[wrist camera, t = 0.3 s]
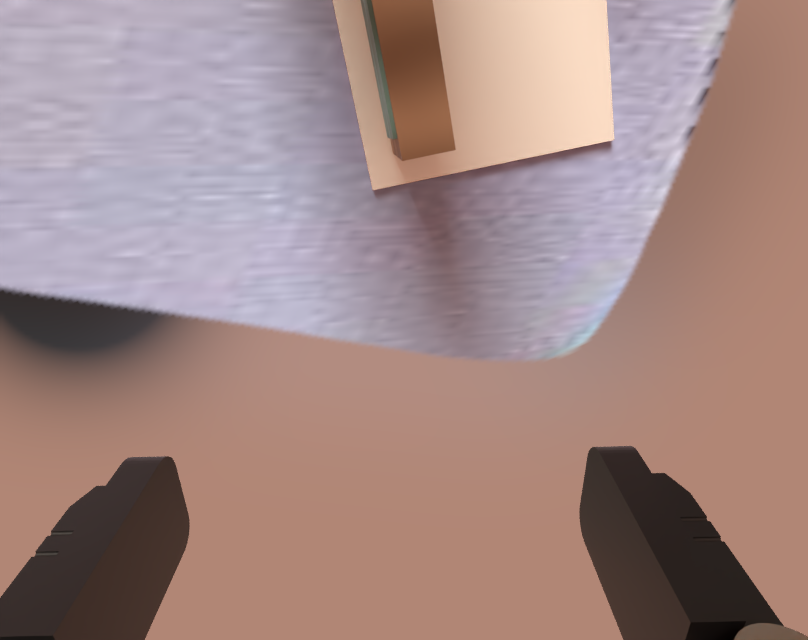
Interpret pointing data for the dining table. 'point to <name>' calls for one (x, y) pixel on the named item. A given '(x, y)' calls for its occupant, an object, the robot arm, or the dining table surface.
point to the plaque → (409, 76)
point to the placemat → (495, 83)
